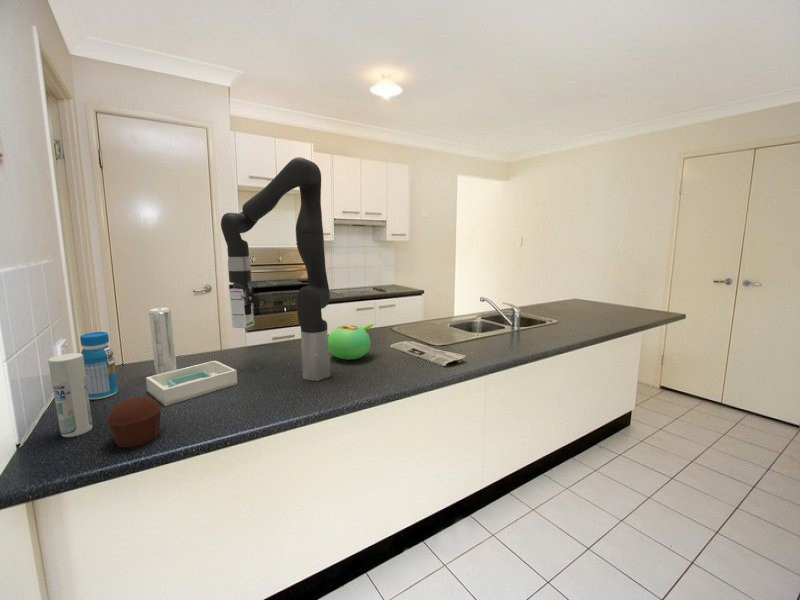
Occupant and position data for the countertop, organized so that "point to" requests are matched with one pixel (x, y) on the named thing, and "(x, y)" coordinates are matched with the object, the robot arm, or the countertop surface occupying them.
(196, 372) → the bin
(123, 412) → the muffin
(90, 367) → the blue supplement bottle
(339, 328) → the green rounded pot shape
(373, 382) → the countertop surface
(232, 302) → the syrup box
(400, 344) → the newspaper
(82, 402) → the spray can
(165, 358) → the silver metal cylinder
